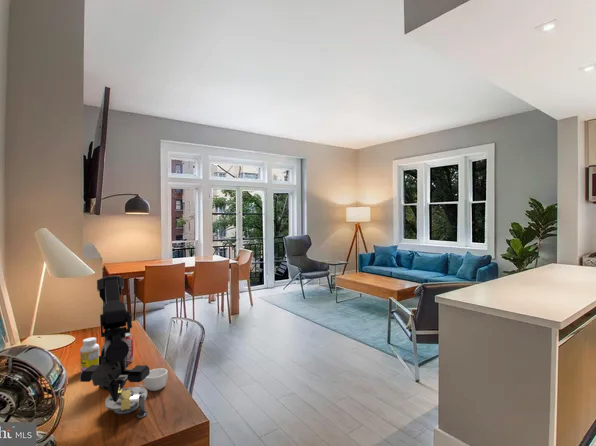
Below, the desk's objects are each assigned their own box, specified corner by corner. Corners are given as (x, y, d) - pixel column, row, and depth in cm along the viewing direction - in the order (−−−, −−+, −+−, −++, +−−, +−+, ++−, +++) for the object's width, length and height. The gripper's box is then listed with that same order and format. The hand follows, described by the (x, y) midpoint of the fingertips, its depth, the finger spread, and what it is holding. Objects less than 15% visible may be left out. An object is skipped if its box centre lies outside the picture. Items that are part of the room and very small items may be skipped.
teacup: (165, 380, 127) (165, 366, 127) (169, 389, 120) (169, 374, 120) (136, 388, 122) (136, 373, 122) (138, 397, 115) (138, 381, 115)
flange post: (109, 412, 106) (109, 404, 106) (128, 401, 113) (128, 393, 113) (124, 417, 103) (124, 409, 103) (143, 405, 110) (143, 398, 110)
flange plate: (106, 395, 111) (106, 383, 111) (146, 387, 116) (146, 375, 116) (102, 418, 98) (102, 404, 98) (147, 408, 103) (147, 394, 103)
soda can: (136, 358, 148) (136, 331, 148) (129, 365, 141) (128, 337, 141) (120, 359, 148) (119, 332, 148) (111, 366, 141) (111, 337, 141)
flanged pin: (134, 416, 104) (134, 397, 104) (142, 411, 106) (142, 392, 106) (141, 418, 102) (141, 399, 102) (149, 413, 105) (149, 394, 105)
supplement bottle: (78, 371, 137) (77, 339, 137) (96, 365, 142) (96, 335, 142) (83, 376, 132) (82, 343, 132) (102, 370, 137) (101, 338, 137)
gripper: (66, 360, 95) (66, 416, 95) (131, 361, 94) (131, 417, 94) (92, 346, 106) (92, 395, 106) (150, 346, 105) (150, 396, 105)
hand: (115, 401), depth 103 cm, fingers closed
